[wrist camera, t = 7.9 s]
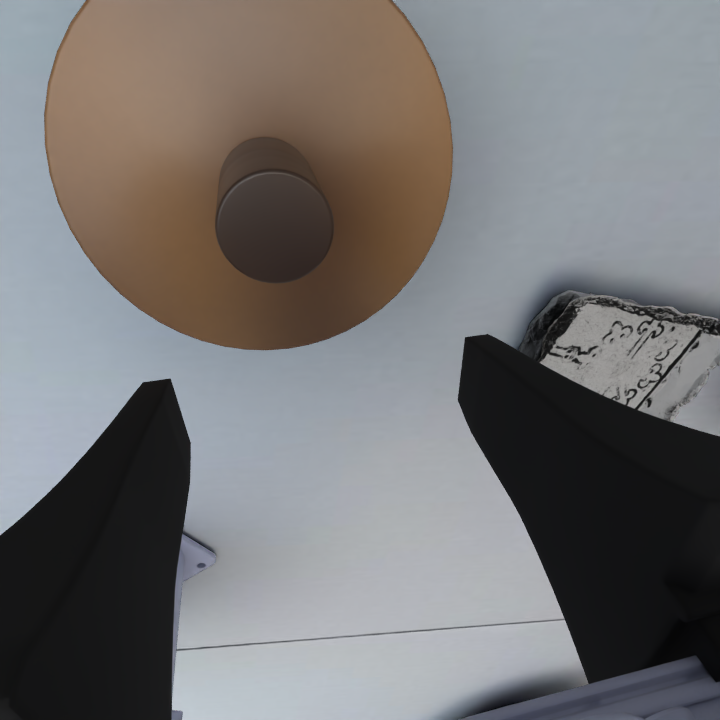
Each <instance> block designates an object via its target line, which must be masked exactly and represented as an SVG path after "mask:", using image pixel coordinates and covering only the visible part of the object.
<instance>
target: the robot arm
mask: <svg viewBox="0 0 720 720" xmlns="http://www.w3.org/2000/svg"><path fill="white" fill-rule="evenodd" d="M458 402H459V404H460V407H461V409H462V412H463V414H464V417H465V419H466V421H467V424H468V426H469V428H470V431H471V433H472V434H473V436H474V438H475V440H476V441H477V443H478V445H479V447H480V448H481V450H482V452H483V453H484V455H485V457H486V458H487V460H488V462H489V463H490V465H491V467H492V468H493V470H494V472H495V473H496V475H497V477H498V478H499V480H500V482H501V483H502V485H503V487H504V488H505V490H506V492H507V493H508V495H509V497H510V498H511V500H512V502H513V504H514V506H515V507H516V509H517V511H518V513H519V515H520V517H521V519H522V521H523V523H524V525H525V527H526V529H527V532H528V534H529V536H530V538H531V540H532V542H533V545H534V547H535V549H536V551H537V553H538V556H539V558H540V560H541V563H542V565H543V567H544V570H545V572H546V574H547V577H548V579H549V581H550V584H551V586H552V588H553V591H554V593H555V596H556V598H557V601H558V603H559V606H560V608H561V611H562V613H563V616H564V618H565V621H566V623H567V626H568V628H569V631H570V634H571V636H572V639H573V642H574V644H575V647H576V650H577V653H578V655H579V658H580V661H581V664H582V666H583V669H584V672H585V675H586V677H587V680H588V683H589V684H587V685H584V686H580V687H576V688H573V689H569V690H565V691H562V692H558V693H554V694H550V695H547V696H543V697H539V698H536V699H532V700H528V701H524V702H521V703H517V704H513V705H510V706H506V707H502V708H499V709H495V710H491V711H487V712H484V713H480V714H476V715H473V716H469V717H465V718H461V719H458V720H720V437H719V436H715V435H712V434H708V433H705V432H702V431H698V430H695V429H691V428H688V427H685V426H682V425H679V424H676V423H673V422H670V421H667V420H664V419H661V418H658V417H655V416H653V415H650V414H647V413H644V412H642V411H639V410H637V409H634V408H632V407H629V406H627V405H624V404H622V403H620V402H617V401H615V400H612V399H610V398H608V397H605V396H603V395H601V394H599V393H597V392H595V391H593V390H591V389H588V388H586V387H584V386H582V385H580V384H578V383H576V382H574V381H572V380H570V379H568V378H567V377H565V376H563V375H561V374H559V373H557V372H555V371H553V370H552V369H550V368H548V367H546V366H544V365H543V364H541V363H539V362H537V361H536V360H534V359H532V358H530V357H529V356H527V355H525V354H523V353H522V352H520V351H518V350H516V349H515V348H513V347H511V346H509V345H508V344H506V343H504V342H502V341H500V340H498V339H497V338H495V337H493V336H490V335H488V334H486V335H479V336H472V337H465V343H464V352H463V360H462V369H461V377H460V386H459V394H458ZM190 460H191V443H190V440H189V436H188V433H187V430H186V427H185V424H184V420H183V417H182V414H181V411H180V407H179V404H178V401H177V398H176V395H175V391H174V388H173V385H172V382H171V379H164V380H157V381H150V382H143V383H142V384H141V386H140V387H139V388H138V389H137V390H136V392H135V393H134V394H133V395H132V397H131V398H130V399H129V401H128V402H127V403H126V404H125V406H124V407H123V408H122V410H121V411H120V412H119V413H118V415H117V416H116V417H115V419H114V420H113V421H112V422H111V424H110V425H109V426H108V427H107V429H106V430H105V431H104V432H103V433H102V435H101V436H100V437H99V438H98V439H97V441H96V442H95V443H94V444H93V446H92V447H91V448H90V449H89V450H88V451H87V452H86V454H85V455H84V456H83V457H82V458H81V459H80V460H79V461H78V462H77V463H76V465H75V466H74V467H73V468H72V469H71V470H70V471H69V472H68V473H67V475H66V476H65V477H64V478H63V479H62V480H61V481H60V482H59V483H58V484H57V485H56V486H55V487H54V488H53V489H52V490H51V491H50V492H49V493H48V494H47V495H46V496H45V497H44V498H42V499H41V500H40V501H39V502H38V503H37V504H36V505H35V506H34V507H33V508H32V509H31V510H30V511H28V512H27V513H26V514H25V515H24V516H23V517H22V518H21V519H20V520H18V521H17V522H16V523H15V524H14V525H13V526H11V527H10V528H9V529H8V530H6V531H5V532H4V533H3V534H2V535H0V720H182V715H183V712H182V711H174V710H172V693H173V682H174V671H175V660H176V649H177V638H178V628H179V617H180V606H181V595H182V584H183V582H184V581H185V580H187V579H189V578H191V577H192V576H194V575H196V574H198V573H199V572H201V571H203V570H204V569H206V568H208V567H210V566H211V565H213V564H214V563H215V562H216V554H214V553H213V552H211V551H210V550H208V549H206V548H205V547H203V546H201V545H200V544H198V543H197V542H195V541H193V540H192V539H190V538H188V537H187V536H185V535H183V534H182V533H183V527H184V520H185V513H186V507H187V500H188V493H189V485H190Z"/></svg>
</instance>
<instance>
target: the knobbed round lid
mask: <svg viewBox="0 0 720 720" xmlns="http://www.w3.org/2000/svg"><path fill="white" fill-rule="evenodd" d="M44 125H45V148H46V154H47V160H48V166H49V173H50V177H51V180H52V183H53V187H54V190H55V193H56V197H57V200H58V203H59V205H60V207H61V210H62V212H63V214H64V216H65V219H66V221H67V223H68V225H69V228H70V230H71V231H72V233H73V235H74V236H75V238H76V240H77V241H78V243H79V245H80V246H81V248H82V250H83V251H84V253H85V254H86V255H87V257H88V258H89V259H90V261H91V262H92V263H93V265H94V266H95V267H96V268H97V270H98V271H99V272H100V274H101V275H102V276H103V277H104V278H105V279H106V280H107V281H108V282H109V283H110V284H111V285H112V286H113V287H114V288H115V289H116V290H117V291H118V292H119V293H120V294H121V295H122V296H124V297H125V298H126V299H127V300H129V301H130V302H131V303H132V304H133V305H135V306H136V307H137V308H138V309H140V310H141V311H143V312H144V313H146V314H148V315H149V316H151V317H152V318H154V319H155V320H157V321H158V322H160V323H162V324H164V325H166V326H168V327H170V328H172V329H174V330H176V331H178V332H180V333H182V334H185V335H188V336H190V337H193V338H196V339H199V340H201V341H205V342H209V343H213V344H216V345H220V346H225V347H232V348H239V349H246V350H276V349H289V348H294V347H299V346H305V345H309V344H313V343H316V342H319V341H323V340H326V339H329V338H331V337H334V336H336V335H338V334H341V333H343V332H345V331H348V330H349V329H351V328H353V327H355V326H356V325H358V324H360V323H362V322H364V321H365V320H367V319H368V318H369V317H371V316H372V315H374V314H375V313H376V312H378V311H379V310H380V309H382V308H383V307H384V306H385V305H386V304H387V303H388V302H390V301H391V300H392V299H393V298H394V297H395V296H396V295H397V294H398V293H399V292H400V291H401V290H402V288H403V287H404V286H405V285H406V284H407V283H408V282H409V280H410V279H411V278H412V277H413V275H414V274H415V272H416V271H417V269H418V268H419V267H420V265H421V264H422V262H423V261H424V259H425V257H426V255H427V253H428V251H429V250H430V248H431V246H432V244H433V242H434V240H435V237H436V235H437V232H438V230H439V227H440V225H441V222H442V220H443V216H444V212H445V208H446V205H447V201H448V197H449V190H450V183H451V177H452V158H453V144H452V133H451V122H450V117H449V112H448V107H447V103H446V98H445V94H444V91H443V88H442V85H441V82H440V79H439V76H438V74H437V71H436V68H435V66H434V64H433V62H432V60H431V58H430V56H429V53H428V51H427V49H426V47H425V45H424V43H423V41H422V40H421V38H420V37H419V35H418V34H417V32H416V31H415V29H414V28H413V26H412V25H411V23H410V22H409V20H408V19H407V17H406V16H405V15H404V13H403V12H402V11H401V10H400V9H399V8H398V7H397V6H396V4H395V3H394V2H393V1H392V0H86V1H85V2H84V4H83V5H82V7H81V8H80V10H79V11H78V12H77V14H76V15H75V17H74V18H73V20H72V21H71V23H70V25H69V27H68V29H67V31H66V33H65V35H64V38H63V40H62V42H61V44H60V46H59V48H58V50H57V53H56V57H55V60H54V64H53V67H52V71H51V74H50V78H49V81H48V88H47V96H46V104H45V112H44Z"/></svg>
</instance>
